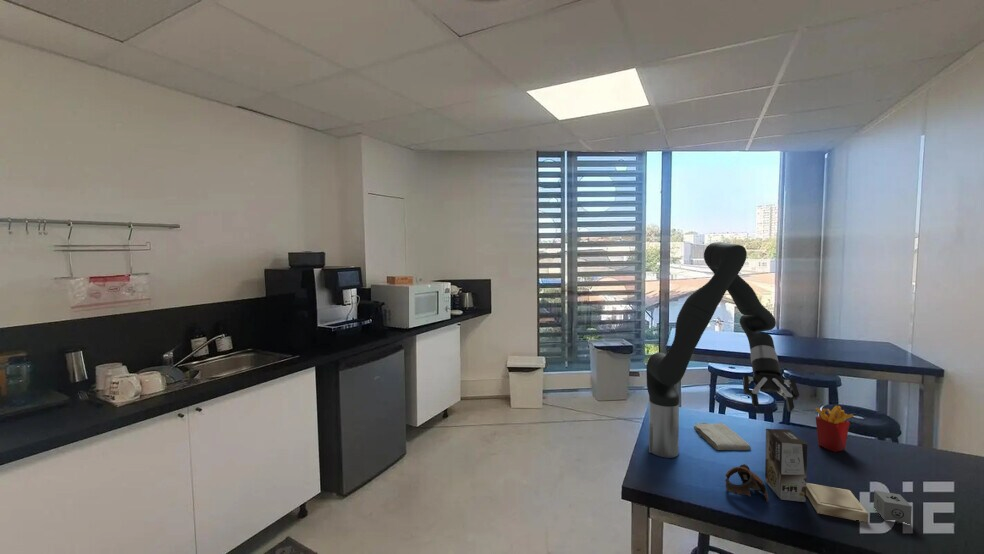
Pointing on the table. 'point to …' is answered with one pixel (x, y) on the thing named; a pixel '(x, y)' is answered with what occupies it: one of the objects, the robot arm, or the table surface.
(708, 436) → the washcloth
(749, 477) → the pottery mug
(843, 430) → the french fries
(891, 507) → the dice cube
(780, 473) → the coffee box
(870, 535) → the table surface
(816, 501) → the riser
